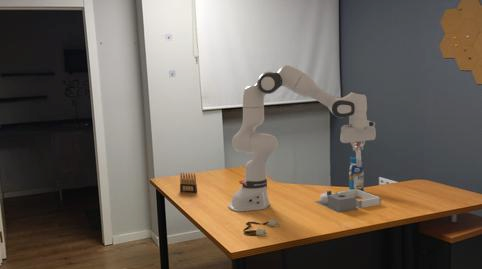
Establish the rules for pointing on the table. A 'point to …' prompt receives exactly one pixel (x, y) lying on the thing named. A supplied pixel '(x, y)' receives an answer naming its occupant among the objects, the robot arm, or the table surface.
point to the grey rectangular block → (338, 201)
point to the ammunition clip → (188, 183)
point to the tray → (369, 198)
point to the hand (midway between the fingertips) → (358, 149)
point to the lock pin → (358, 155)
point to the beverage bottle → (356, 175)
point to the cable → (261, 231)
